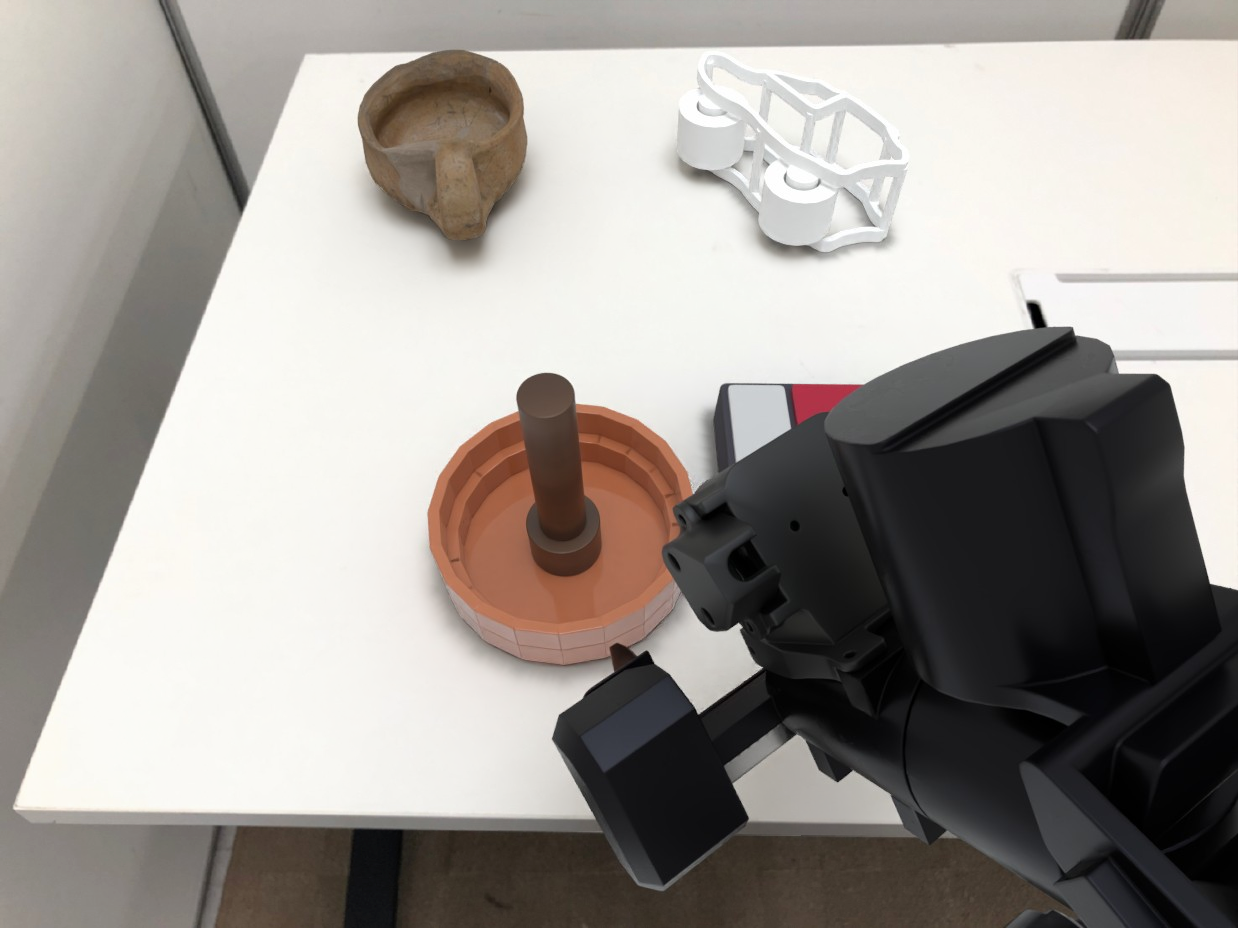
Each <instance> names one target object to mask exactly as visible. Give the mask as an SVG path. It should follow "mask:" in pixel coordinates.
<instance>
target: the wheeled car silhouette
mask: <svg viewBox="0 0 1238 928" xmlns="http://www.w3.org/2000/svg"><path fill="white" fill-rule="evenodd" d="M714 68H716V69H720V70H723V71H725V72H726V73H728V74H730V76H732V77H734V78H736V79H737V80H739V81H741V82H744V83H745V84H749V85H751V86H757V87H758V86H759V87H760V86H761V87H762V89H761V96H760V102H759V103H760V104H759V112H758V111H756V110H755V109H754V108H753V107H752V106H750V105H749V102H748V100H747V99H746V98H745V97H744V96H743V94H742V93H740V92H738V91H736V90H735V89H733V88H729V87H726V86H722V85H721V86H719V85H715V84H714V83H713V74H714ZM696 71H697V72H696V82H697V86H698V87H696V88H692V89H691V90H689V91H687V92H686V93H684V94H683V96H682V97H680V99H679V103H678V113H677V114H678V115H677V116H678V117H677V136H676V137H677V139H676V151H677V155H678V156H679V158H680V159H681V161H683V162H684V163H685V164H687V165H688V166H690V167H693V168H696V169H699V170H704V171H706V170H707V171H708V172H711V173H712V174H713V175H715V176H717V177H718V178H720V179H722V180H724V181H726V182H728V183H730V184H731V185H732V186H734V188H736V189H737V190H738V191H739V192H740V193H741V194H742V195H743V197H744V198H745V200H746V201H747V202H748V203H749V204H750V205H751V206H752V207H753V208H754V209H755V210H756V212H757V213H758V218H757V221H758V224H759V228H760V230H761V231H762V232H763V233H764V235H766V237H768V238H770V239H772V240H773V241H774V242H776V243H777V242H778V243H781V244H784V245H787V246H793V247H794V246H795V247H797V246H808V247H811V248H812V249H814V250H816V251H818V252H819V253H830V252H833V251H835V250H837V249H839V248H841V247H845V246H849V245H854V244H855V245H856V244H860V243H881V242H882V241H883V240H884V239H886V238H887V237H888V233H889V230H890V226H891V223H892V220H893V217H894V214H895V211H896V208H897V204H898V202H899V198H900V195H901V191H902V187H903V185H904V182H905V179H906V176H907V172H908V169H909V166H908V164H909V160H910V152H909V149H908V148H907V147H906V146H905V145H903V144H902V143H901V141H900V137H901V134H900V131H899V129H898V128H896V127H895V126H894V125H893V124H892V123H890V122H889V121H888V120H887V119H886V118H885V117H884V116H882V115H880V114H879V113H878V112H876V110H874V109H872V108H871V107H870V106H868V105H867V104H865V103H864V102H863V101H861V99H859V98H857V97H855V96H853V95H851V94H849V93H848V92H847V91H846V90H842V89H839V88H835V87H834V86H833V85H831V84H830V83H828V82H826V80H824V79H819V78H811V77H804V76H801V75H796V74H792V73H790V72H787V71H781V70H776V69H765V68H763V69H762V68H760V69H758V68H754V67H751V66H748V65H746V64H744V63H742V62H741V61H739V60H738V59H736V58H735V57H733V56H731V55H730V54H728V53H725V52H722V51H716V50H708V51H705V52H703V54H701V56H700V59H699V61H698V63H697V70H696ZM772 94H774V95H775V96H777V98H779V99H780V100H781V101H783V102H784V103H785V104H787V105H788V106H790V107H791V108H792V109H793V110H794V111H796V112H797V113H799V114H800V115H801V116H802V117H803V118H805V120H804V126H803V131H802V137H801V142H800V145H794V144H790V143H789V142H788V141H787V140H785V139H784V138H783V137H782V136H781V135H780V134H779V133H777V132H776V131H775V130H774V129H773V128H772V127H771V126H770V125H769V124H768V121H769V115H770V108H771V102H772ZM804 95H807V96H817V97H818V98H819V99H821V100H822V102H820V103H816V104H814V103H813V102H812V101H810V100H809V99H807V98H806V97H805V96H804ZM846 113H848V114H850V115H852V116H853V117H855V118H856V119H857V120H859V121H860V122H861V123H862V124H864V125H865V126H866V127H867V128H868V129H870V130H871V131H872V132H874V133H875V134H877V135H878V137H880V138H881V140H882V143H883V144H882V147H881V151H880V155H879V159H878V160H875V161H874V160H873V161H869V162H864V163H859V164H856V165H854V166H852V167H850V168H849V167H848V168H847V169H845V168H844V167H843V166H841V165H840V164H838V163H836V157H837V153H838V150H839V145H840V141H841V136H842V131H843V126H844V123H845V118H846ZM832 115H834V117H833V122H832V127H831V130H830V136H829V141H828V144H827V150H826V154H825V156H822V155H820V154H819V153H817V152H816V151H815V150H813V149H812V148H811V147H812V141H813V137H814V133H815V128H816V122H818V121H822V120H823V119H826V118H828V117H830V116H832ZM747 125H748V126H749V127H750V128H751V129H752V131H753V132H754V133H755V136H747V135H746V132H747ZM744 152H752V153H753V154H752V162H751V169H750V177H749V179H748V178H746V177H745V176H744V175H743V174H742V173H741V172H739V171H738V170H737V169H735V168H734V167H732V166H733V165H735V164H737V163H738V162H739V161H740V159H741V158H742V157H743V154H744ZM891 158H892V159H891ZM764 161H765V162H766V163H767V164H768V167H767V168H766V169H765V173H764V178H763V185H762V192H761V193H759V191H760V190H759V189H760V183H761V175H762V168H763V162H764ZM886 178H892V181H891V184H890V188H889V191H888V193H887V197H886V201H885V204H884V207H883V211H882V210H881V209H880V207H879V206H880V196H881V192H882V189H883V186H884V182H885V179H886ZM872 179H873V181H872V184H871V187H870V189H869V188H868V187H867V186H866V185H865V184H864V183H862V181H867V180H872ZM840 188H844V189H846V191H848V192H849V193H850V194H852V195H853V196H854V197H855V198H856V199H857V200H859V201H860V202H861V204H862V205H863V207H864V210H865V213H866V214H867V217H868V219H869V220H870V222H871V223H872V224H873V226H860V227H854V228H850V229H845V230H840V231H838V232H836V233H834V234H832V235H829V236H827V234H828V232H829V231H830V229H831V224H832V221H833V216H834V212H835V208H836V203H837V198H838V195H839V191H840Z"/></svg>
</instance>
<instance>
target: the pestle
mask: <svg viewBox="0 0 1238 928" xmlns="http://www.w3.org/2000/svg"><path fill="white" fill-rule="evenodd" d="M515 395H516V396H515V401H516V405H517V411H518V412H519V417H520V422H521V428H522V433H523V438H524V444H525V449H526V455H527V460H528V465H529V471H530V476H531V482H532V487H533V492H534V498H535V503H534V504H533V505H532V507H531V508H530V510H529V512H528V515H527V518H526V529H527V534H528V538H529V543H530V548H531V552H532V556H533V558H534V560H535V562H536V563H537V564H538V565H539V566H540V567H541V568H542V569H543V570H544V571H546V572H548V573H550V574H553V575H557V576H573V575H577V574H580V573H582V572H584V571H585V570H587V569H588V568H590V567H591V566H592V565H593V564H594V563H595V561H596V560H597V559H598V557H599V554H600V552H601V547H602V541H601V526H600V515H599V512H598V509H597V507H596V506H595V504H594V503H593V502H592V501H591V500H590V499H589V498H588V497H586V496H585V495H584V487H583V476H582V466H581V455H580V444H579V434H578V423H577V412H576V404H577V403H576V402H577V401H576V393H575V389H574V386H573V384H572V383H571V382H570V381H569V380H568V379H567V378H566V377H564V376H563V375H560V374H558V373H554V372H540V373H536V374H533V375H530V376H529V377H527V378H526V379H525V380H524V381H523V382H522V383H521V384H520V385H519V386H518V389H517V391H516V394H515Z"/></svg>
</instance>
